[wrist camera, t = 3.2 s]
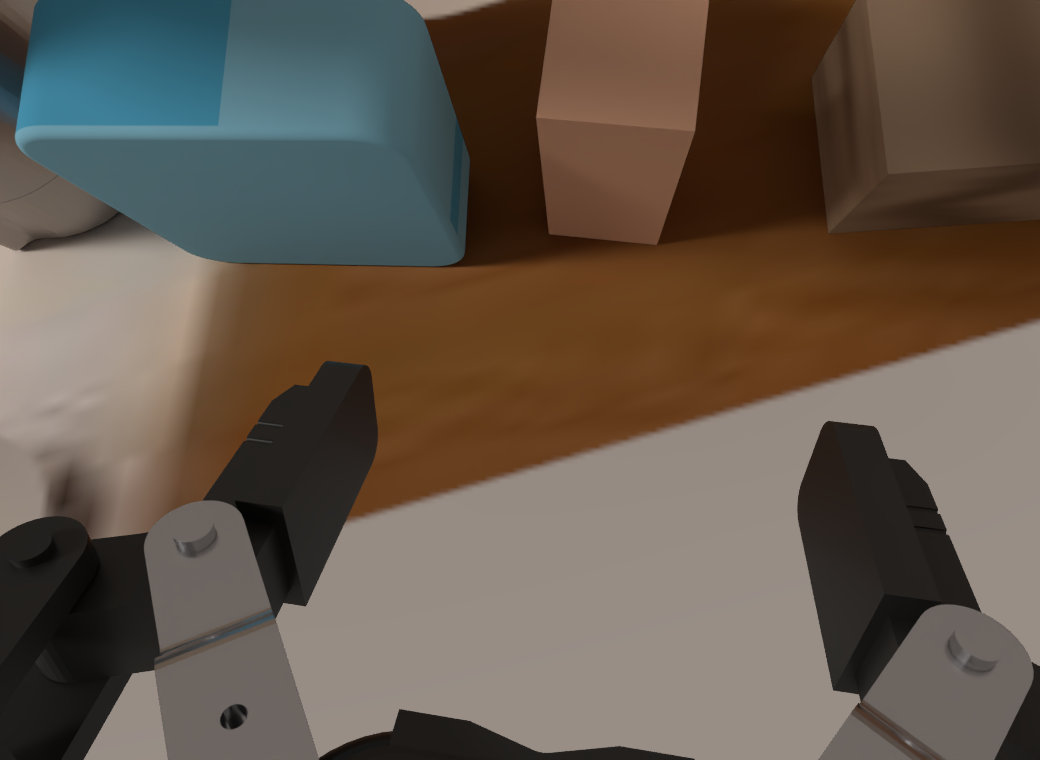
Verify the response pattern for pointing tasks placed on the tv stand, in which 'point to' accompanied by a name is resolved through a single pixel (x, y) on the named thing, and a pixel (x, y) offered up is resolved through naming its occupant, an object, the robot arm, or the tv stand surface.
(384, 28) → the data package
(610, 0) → the terracotta block
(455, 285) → the tv stand surface
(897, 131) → the grey brown block
